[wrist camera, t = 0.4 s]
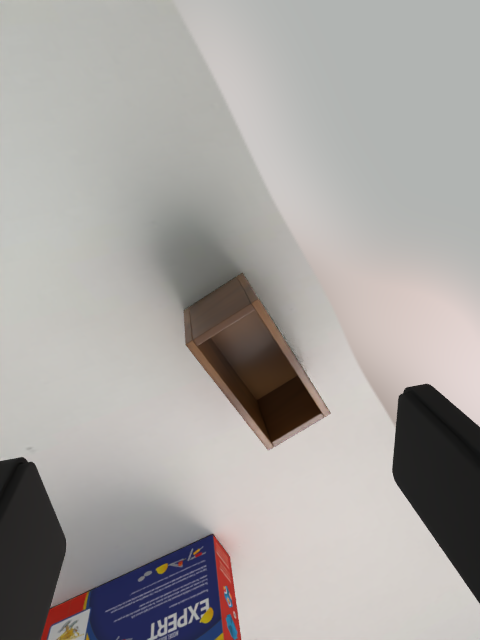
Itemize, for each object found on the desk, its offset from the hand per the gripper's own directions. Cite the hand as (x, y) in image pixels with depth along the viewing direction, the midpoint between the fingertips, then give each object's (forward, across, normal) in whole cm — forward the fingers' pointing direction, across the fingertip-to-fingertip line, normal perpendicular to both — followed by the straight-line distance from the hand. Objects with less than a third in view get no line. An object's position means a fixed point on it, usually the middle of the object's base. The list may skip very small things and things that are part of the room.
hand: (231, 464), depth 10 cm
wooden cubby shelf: (+18, -3, +6) cm, 19 cm away
